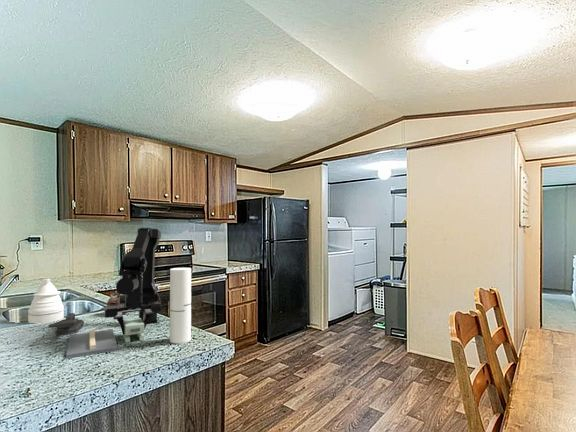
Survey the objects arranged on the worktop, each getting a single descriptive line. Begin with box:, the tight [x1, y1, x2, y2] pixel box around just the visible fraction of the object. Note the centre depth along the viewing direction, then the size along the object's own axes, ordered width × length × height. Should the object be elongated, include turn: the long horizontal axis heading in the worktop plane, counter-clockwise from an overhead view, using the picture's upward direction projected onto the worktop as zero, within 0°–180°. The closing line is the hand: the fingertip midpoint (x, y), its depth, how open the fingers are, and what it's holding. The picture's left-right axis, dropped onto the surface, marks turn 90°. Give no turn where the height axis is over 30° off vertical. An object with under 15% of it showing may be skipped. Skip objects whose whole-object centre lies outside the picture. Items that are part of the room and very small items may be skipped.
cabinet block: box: [122, 317, 145, 344], centre depth 126 cm, size 6×11×6 cm, turn 30°
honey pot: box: [27, 278, 65, 324], centre depth 153 cm, size 13×13×18 cm
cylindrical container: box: [169, 267, 192, 344], centre depth 124 cm, size 7×7×25 cm
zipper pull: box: [47, 312, 85, 336], centre depth 133 cm, size 9×7×25 cm
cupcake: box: [106, 291, 129, 316], centre depth 163 cm, size 10×10×10 cm
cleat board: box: [65, 328, 119, 359], centre depth 120 cm, size 14×24×2 cm, turn 30°
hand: (133, 333), depth 127 cm, fingers closed on cabinet block, 6 cm apart
